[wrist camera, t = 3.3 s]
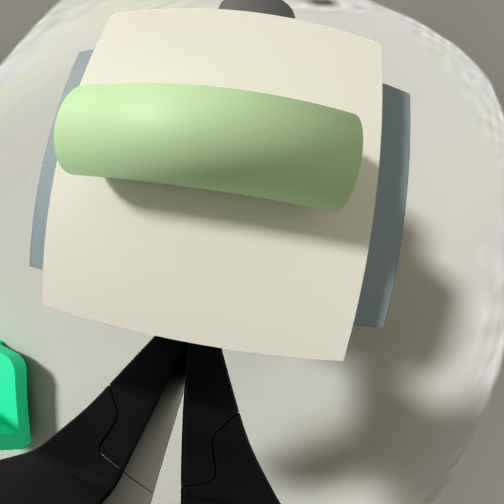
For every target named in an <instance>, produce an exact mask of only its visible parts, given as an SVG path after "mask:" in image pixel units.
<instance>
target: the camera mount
mask: <svg viewBox="0 0 504 504" xmlns="http://www.w3.org/2000/svg"><path fill="white" fill-rule="evenodd" d="M30 443H32V442H31V435H30V426H29V415H28V400H27V368H26V364H25V361H24V359H23V358H22V357H21V355H20V354H18V353H16V352H14V351H12V350H10V349H8V348H6V347H5V346H4V342H3V341H1V340H0V450H12V449H23V448H24V447H26V446H27V445H29V444H30Z"/></svg>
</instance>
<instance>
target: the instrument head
mask: <svg viewBox="0 0 504 504" xmlns="http://www.w3.org/2000/svg"><path fill="white" fill-rule="evenodd" d="M409 156H410V94H409V93H406V92H404V91H401V90H399V89H396V88H394V87H391V86H389V85H386V84H383V83H382V49H381V43H378V42H376V41H373V40H370V39H367V38H364V37H361V36H358V35H355V34H352V33H349V32H345V31H342V30H339V29H335V28H332V27H328V26H324V25H320V24H316V23H312V22H307V21H303V20H298V19H295V16H294V13H293V11H292V9H291V8H290V6H289V5H288V4H286V3H285V2H284V1H282V0H224V1H223V2H222V3H221V4H220V6H219V9H210V8H163V9H147V10H135V11H126V12H118V13H112V15H111V16H110V18H109V20H108V22H107V24H106V26H105V28H104V30H103V32H102V34H101V36H100V38H99V40H98V42H97V44H96V47H95V49H94V50H88V51H81V52H79V54H78V57H77V59H76V61H75V63H74V66H73V68H72V71H71V73H70V76H69V78H68V81H67V83H66V86H65V89H64V91H63V94H62V97H61V100H60V103H59V106H58V109H57V112H56V115H55V118H54V122H53V125H52V128H51V132H50V135H49V139H48V143H47V147H46V151H45V155H44V160H43V164H42V169H41V174H40V179H39V184H38V190H37V196H36V202H35V209H34V217H33V226H32V236H31V248H30V266H31V267H35V268H38V269H42V270H43V283H42V305H45V306H48V307H51V308H54V309H57V310H60V311H63V312H66V313H70V314H73V315H76V316H80V317H83V318H87V319H90V320H94V321H97V322H101V323H105V324H108V325H112V326H116V327H120V328H124V329H128V330H132V331H137V332H141V333H145V334H150V335H154V336H159V337H164V338H168V339H173V340H178V341H184V342H189V343H194V344H200V345H206V346H212V347H218V348H224V349H230V350H237V351H244V352H252V353H259V354H267V355H276V356H285V357H295V358H306V359H319V360H333V361H344V357H345V353H346V350H347V346H348V342H349V338H350V335H351V331H352V327H353V325H361V326H372V327H384V323H385V319H386V315H387V311H388V306H389V302H390V298H391V293H392V288H393V284H394V279H395V274H396V268H397V263H398V257H399V251H400V245H401V238H402V231H403V224H404V216H405V207H406V198H407V187H408V174H409Z"/></svg>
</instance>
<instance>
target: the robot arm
mask: <svg viewBox="0 0 504 504" xmlns="http://www.w3.org/2000/svg"><path fill="white" fill-rule="evenodd" d="M183 393H184V404H183V425H182V456H181V486H182V487H181V504H281V503H280V502H279V500H278V499H277V497H276V495H275V493H274V492H273V490H272V488H271V486H270V484H269V482H268V480H267V478H266V476H265V475H264V473H263V471H262V469H261V467H260V465H259V463H258V461H257V459H256V457H255V454H254V452H253V450H252V448H251V445H250V443H249V440H248V437H247V435H246V432H245V429H244V426H243V423H242V419H241V416H240V413H238V412H239V410H238V406H237V403H236V399H235V396H234V392H233V389H232V385H231V382H230V378H229V375H228V371H227V367H226V363H225V360H224V356H223V352H222V348H218V347H212V346H206V345H200V344H194V343H189V342H184V341H178V340H173V339H168V338H164V337H159V336H154V337H153V338H152V340H151V341H150V342H149V343H148V344H147V345H146V346H145V347H144V348H143V349H142V350H141V351H140V352H139V353H138V354H137V355H136V356H135V358H134V359H133V360H132V361H131V362H130V363H129V364H128V365H127V366H126V367H125V368H124V369H123V370H122V371H121V372H120V374H119V375H118V376H117V377H116V378H115V379H114V380H113V381H112V382H111V383H110V386H107V387H106V388H105V389H104V391H103V392H102V393H101V394H100V395H99V396H98V397H97V398H96V399H95V400H94V401H93V402H92V403H91V404H90V405H89V406H88V407H87V408H86V409H85V410H83V411H82V412H81V413H80V414H79V415H78V416H77V417H75V418H74V419H73V420H72V421H71V422H69V423H68V424H67V425H66V426H65V427H63V428H62V429H61V430H60V431H58V432H57V433H56V434H55V435H54V436H52V437H51V438H50V439H49V440H47V441H46V442H45V443H44V444H42V445H41V446H39V447H38V448H36V449H34V450H32V451H29V452H27V453H24V454H20V455H17V456H13V457H9V458H5V459H1V460H0V504H151V501H152V497H153V493H154V490H155V486H156V483H157V479H158V476H159V472H160V469H161V465H162V462H163V459H164V455H165V452H166V448H167V445H168V442H169V438H170V435H171V432H172V428H173V425H174V422H175V419H176V415H177V412H178V409H179V405H180V402H181V399H182V396H183Z"/></svg>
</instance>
